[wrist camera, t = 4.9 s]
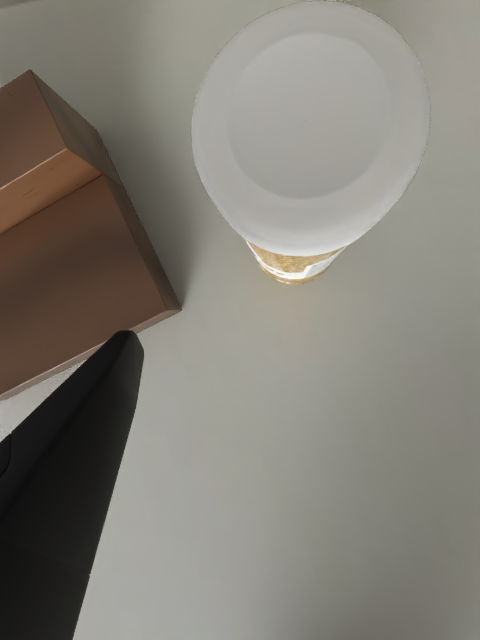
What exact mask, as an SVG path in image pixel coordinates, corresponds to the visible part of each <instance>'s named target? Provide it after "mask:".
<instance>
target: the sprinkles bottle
mask: <svg viewBox="0 0 480 640" xmlns="http://www.w3.org/2000/svg"><path fill="white" fill-rule="evenodd" d="M430 111H431V107H430V98H429V92H428V88H427V83H426V79H425V76H424V73H423V70H422V68H421V65H420V63H419V61H418V59H417V57H416V56H415V54H414V53H413V51H412V50H411V48H410V47H409V45H408V44H407V43H406V41H405V40H404V39H403V38H402V36H401V35H400V34H399V33H398V32H397V31H396V30H394V29H393V28H392V27H391V26H390V25H389V24H388V23H386V22H385V21H383V20H382V19H380V18H378V17H377V16H375V15H374V14H372V13H370V12H367V11H365V10H363V9H360V8H357V7H355V6H352V5H349V4H344V3H338V2H331V1H310V2H303V3H296V4H292V5H288V6H285V7H282V8H279V9H276V10H274V11H271V12H269V13H267V14H265V15H263V16H261V17H259V18H257V19H256V20H254V21H252V22H251V23H249V24H248V25H247V26H245V27H244V28H243V29H241V30H240V31H239V32H238V33H236V34H235V35H234V36H233V37H232V38H231V39H230V40H229V41H228V42H227V43H226V44H225V46H224V47H223V48H222V49H221V50H220V52H219V53H218V54H217V56H216V57H215V59H214V60H213V62H212V63H211V65H210V66H209V68H208V70H207V72H206V74H205V76H204V77H203V80H202V82H201V85H200V87H199V90H198V92H197V96H196V101H195V104H194V110H193V115H192V127H191V141H192V150H193V157H194V161H195V165H196V168H197V171H198V174H199V177H200V179H201V181H202V184H203V186H204V188H205V190H206V191H207V193H208V195H209V197H210V198H211V200H212V201H213V203H214V204H215V206H216V208H217V209H218V211H219V212H220V213H221V215H222V216H223V217H224V218H225V220H226V221H227V222H228V223H229V225H230V226H231V227H232V228H233V229H234V230H235V231H236V232H237V233H238V234H240V235H241V236H242V237H243V238H244V239H245V241H246V242H247V244H248V246H249V247H250V249H251V251H252V252H253V254H254V256H255V257H256V259H257V261H258V264H259V266H260V267H261V268H262V270H263V271H264V272H265V273H266V274H267V275H268V276H270V277H271V278H273V279H275V280H276V281H278V282H281V283H284V284H293V285H294V284H302V283H306V282H309V281H311V280H314V279H316V278H317V277H318V276H319V275H320V274H322V273H323V272H324V271H325V270H326V269H327V268H328V267H329V265H330V264H331V263H332V262H333V260H334V259H335V258H336V257H337V256H338V255H339V254H340V253H341V252H342V251H343V250H344V249H345V248H346V247H347V245H348V244H350V243H352V242H354V241H355V240H357V239H358V238H360V237H361V236H363V235H364V234H365V233H366V232H367V231H369V230H370V229H371V228H372V227H373V226H374V225H375V224H376V223H377V222H378V221H379V220H380V219H382V218H383V217H384V216H385V215H386V214H387V212H388V211H389V210H390V209H391V208H392V207H393V206H394V205H395V203H396V202H397V201H398V200H399V199H400V197H401V196H402V195H403V193H404V192H405V190H406V189H407V187H408V186H409V184H410V183H411V181H412V179H413V178H414V176H415V174H416V172H417V169H418V167H419V165H420V163H421V161H422V158H423V155H424V152H425V148H426V145H427V141H428V135H429V128H430Z"/></svg>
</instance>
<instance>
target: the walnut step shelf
mask: <svg viewBox="0 0 480 640" xmlns="http://www.w3.org/2000/svg"><path fill="white" fill-rule="evenodd" d="M180 311H182V308H181V306H180V304H179V302H178V300H177V298H176V295H175V293H174V291H173V289H172V287H171V285H170V283H169V281H168V279H167V277H166V274H165V272H164V270H163V268H162V266H161V264H160V262H159V260H158V258H157V256H156V253H155V251H154V249H153V247H152V245H151V243H150V241H149V239H148V237H147V235H146V232H145V230H144V228H143V226H142V224H141V222H140V220H139V218H138V216H137V214H136V211H135V209H134V207H133V205H132V203H131V201H130V199H129V197H128V195H127V193H126V190H125V189H124V186H123V184H122V182H121V180H120V178H119V176H118V174H117V172H116V169H115V167H114V165H113V163H112V161H111V159H110V157H109V155H108V153H107V151H106V148H105V146H104V144H103V142H102V140H101V138H100V136H99V134H98V132H97V130H96V129H95V128H94V127H93V126H92V125H91V124H89V123H88V122H87V121H86V120H85V119H84V118H83V117H82V116H81V115H80V114H79V113H77V112H76V111H75V110H74V109H73V108H72V107H71V106H70V105H69V104H68V103H67V102H66V101H64V100H63V99H62V98H61V97H60V96H59V95H58V94H57V93H56V92H55V91H54V90H52V89H51V88H50V87H49V86H48V85H47V84H46V83H45V82H44V81H43V80H42V79H41V78H39V77H38V76H37V75H36V74H35V73H34V72H33V71H32V70H28V71H27V72H25V73H24V74H22V75H20V76H19V77H17V78H16V79H14V80H13V81H11V82H10V83H8V84H7V85H5V86H4V87H2V88H1V89H0V401H2V400H5V399H8V398H10V397H12V396H14V395H16V394H18V393H20V392H22V391H24V390H26V389H28V388H30V387H32V386H34V385H36V384H37V383H39V382H41V381H43V380H45V379H47V378H49V377H51V376H53V375H55V374H57V373H59V372H61V371H63V370H65V369H67V368H69V367H71V366H73V365H75V364H77V363H79V362H81V361H83V360H85V359H87V358H89V357H91V356H92V355H93V354H94V353H95V352H96V351H97V350H98V349H99V348H100V347H101V346H102V345H103V344H104V343H105V342H106V341H107V340H108V339H110V338H111V337H112V336H113V335H114V334H115V333H116V332H117V331H120V330H132V331H134V332H135V333H136V334H137V333H139V332H141V331H142V330H144V329H146V328H148V327H150V326H152V325H154V324H156V323H158V322H160V321H162V320H164V319H166V318H168V317H170V316H172V315H174V314H176V313H178V312H180Z"/></svg>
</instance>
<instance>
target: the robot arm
mask: <svg viewBox="0 0 480 640" xmlns="http://www.w3.org/2000/svg"><path fill="white" fill-rule="evenodd" d="M143 360H144V350H143V347H142V345H141V343H140V341H139V339H138V337H137V335H136V333H135V332H134V331H132V330H120V331H117V332H116V333H115V334H114V335H113V336H112V337H111V338H110V339H108V340H107V341H106V342H105V343H104V344H103V345H102V346H101V347H100V348H99V349H98V350H97V351H96V352H95V353H94V354H93V355H92V356H91V357H90V358H89V359H87V360H86V361H85V362H84V363H83V364H82V365H81V366H80V367H79V368H78V369H77V370H76V371H75V372H74V373H73V374H72V375H71V376H70V377H69V378H68V379H66V380H65V381H64V382H63V383H62V384H61V385H60V386H59V387H58V388H57V389H56V390H55V391H54V392H53V393H52V394H51V395H50V396H49V397H48V398H47V399H45V400H44V401H43V402H42V403H41V404H40V405H39V406H38V407H37V408H36V409H35V410H34V411H33V412H32V413H31V414H30V415H29V416H28V417H27V418H26V419H24V420H23V421H22V422H21V423H20V424H19V425H18V426H17V427H16V428H15V429H14V430H13V431H12V433H11V434H9V435H8V436H6V437H5V438H4V439H3V440H2V441H1V442H0V640H72V639H73V636H74V632H75V628H76V625H77V621H78V618H79V614H80V610H81V607H82V603H83V599H84V596H85V592H86V588H87V585H88V581H89V578H90V575H89V574H90V573H91V570H92V566H93V562H94V559H95V555H96V551H97V548H98V544H99V540H100V537H101V533H102V530H103V526H104V522H105V519H106V515H107V511H108V508H109V504H110V500H111V497H112V493H113V490H114V486H115V482H116V479H117V475H118V471H119V468H120V464H121V460H122V457H123V453H124V450H125V446H126V442H127V439H128V435H129V431H130V428H131V424H132V420H133V417H134V413H135V409H136V404H137V399H138V392H139V386H140V379H141V373H142V366H143Z"/></svg>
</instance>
